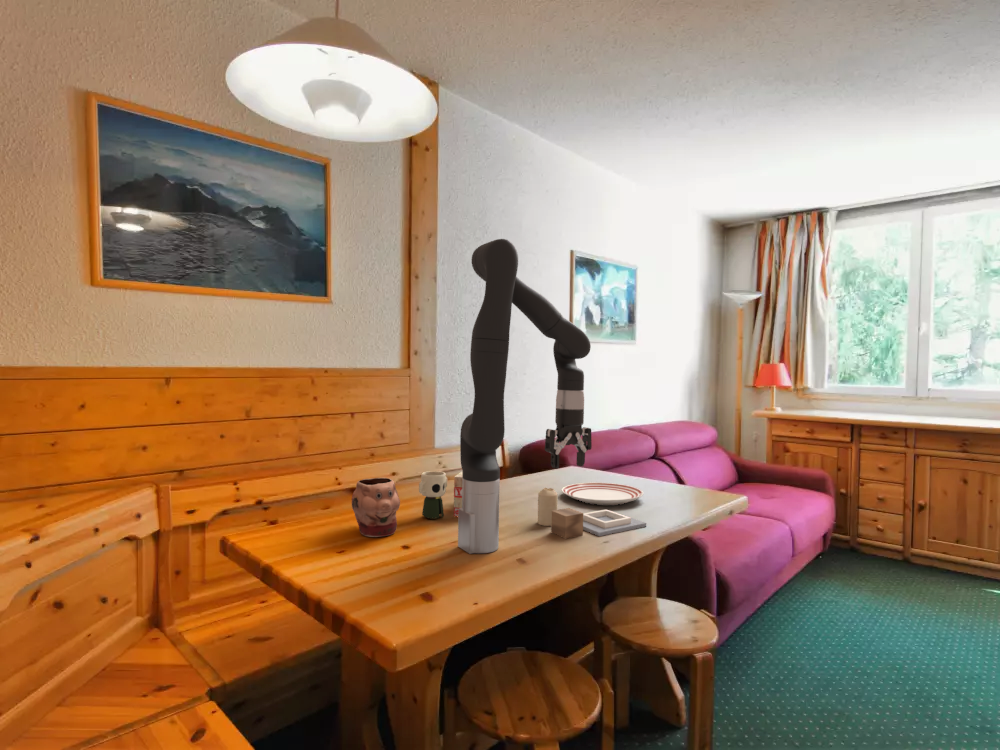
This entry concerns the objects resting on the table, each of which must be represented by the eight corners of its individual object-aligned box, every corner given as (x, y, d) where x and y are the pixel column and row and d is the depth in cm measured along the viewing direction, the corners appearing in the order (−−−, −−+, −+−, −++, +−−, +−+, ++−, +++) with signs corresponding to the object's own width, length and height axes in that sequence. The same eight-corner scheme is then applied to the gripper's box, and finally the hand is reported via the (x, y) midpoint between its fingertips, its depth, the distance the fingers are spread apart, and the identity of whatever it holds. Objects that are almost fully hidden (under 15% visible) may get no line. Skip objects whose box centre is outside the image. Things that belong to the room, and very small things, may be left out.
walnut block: (565, 539, 142) (565, 516, 142) (551, 532, 148) (551, 510, 147) (582, 535, 146) (583, 513, 146) (568, 529, 151) (568, 507, 151)
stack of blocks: (471, 499, 181) (471, 462, 181) (489, 500, 180) (490, 463, 180) (453, 517, 160) (453, 475, 160) (473, 519, 159) (474, 477, 159)
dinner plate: (546, 500, 182) (546, 490, 182) (583, 486, 205) (583, 477, 205) (624, 515, 167) (625, 504, 166) (654, 497, 189) (655, 488, 189)
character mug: (427, 523, 153) (428, 477, 153) (410, 518, 157) (411, 474, 157) (454, 516, 161) (455, 472, 161) (438, 511, 166) (438, 469, 166)
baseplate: (598, 536, 145) (599, 527, 145) (565, 522, 157) (565, 514, 156) (646, 526, 154) (646, 517, 154) (611, 514, 166) (611, 506, 166)
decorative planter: (339, 525, 150) (340, 475, 150) (381, 518, 157) (381, 470, 157) (367, 545, 134) (368, 489, 134) (412, 537, 141) (413, 484, 141)
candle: (543, 527, 152) (544, 491, 152) (534, 521, 157) (535, 487, 157) (560, 525, 154) (561, 490, 154) (551, 519, 159) (551, 485, 159)
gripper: (557, 408, 139) (555, 471, 139) (599, 407, 147) (597, 467, 147) (540, 406, 145) (538, 466, 146) (580, 405, 153) (579, 462, 153)
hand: (567, 467), depth 146 cm, fingers open, 8 cm apart
